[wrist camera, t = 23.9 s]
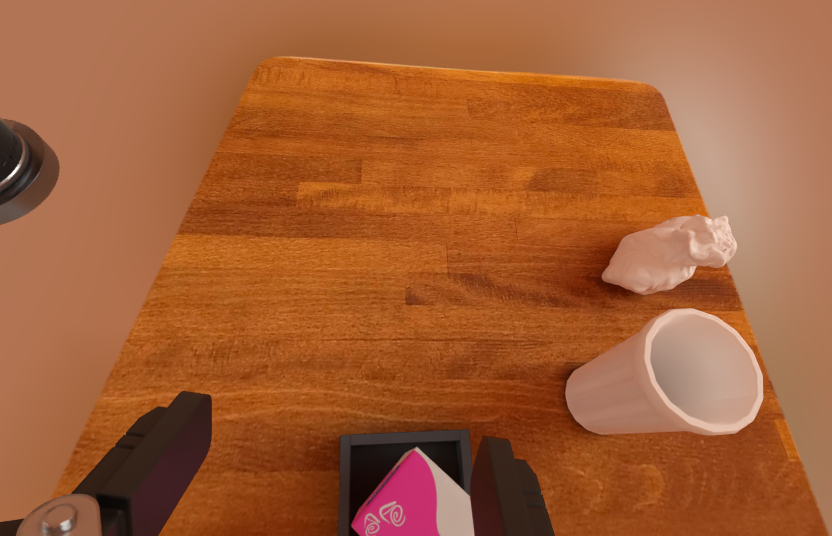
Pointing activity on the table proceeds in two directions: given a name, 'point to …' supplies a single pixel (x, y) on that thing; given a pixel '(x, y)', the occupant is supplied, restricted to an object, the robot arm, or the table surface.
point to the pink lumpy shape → (670, 253)
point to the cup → (670, 380)
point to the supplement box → (415, 502)
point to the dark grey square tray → (379, 453)
